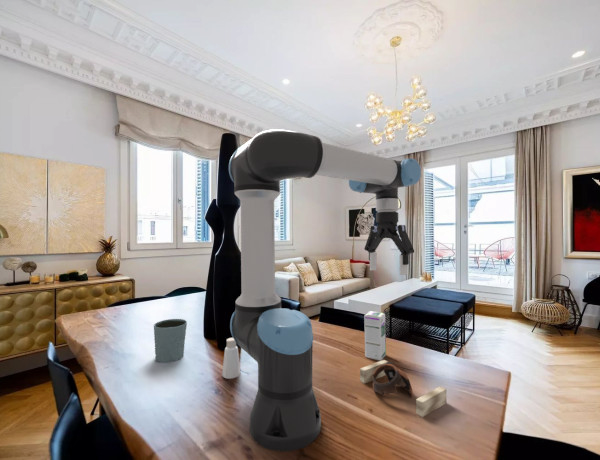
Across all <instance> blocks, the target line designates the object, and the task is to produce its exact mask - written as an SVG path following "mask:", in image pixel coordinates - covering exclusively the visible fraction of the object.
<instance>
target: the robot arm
mask: <svg viewBox="0 0 600 460" xmlns="http://www.w3.org/2000/svg"><path fill="white" fill-rule="evenodd" d="M421 172H422V168H421V165H420V163H419V161H418V160H417V159H415V158H404V159H402V160H396V159H391V158H386V157H382V156H378V155H374V154H370V153H366V152H362V151H358V150H354V149H351V148H350V149H349V148H345V147H342V146H337V145H335V144H334V145H333V144H328V143H325V142H323V141H322V139H321V138H320V137H319V136H316V135H312V134H308V133H305V132H304V133H303V132H298V131H293V130H287V129H286V130H285V129H268V130H265V131H261V132H259V133H257V134H256V135H255V136H254V137H253V138H251V139H250V140H248V141H247V142H245V143H244V144H242V145H240V146H239V147H238V148H237V149H236V150H235V151H234V152H233V153H232V156H231V157H230V159H229V163H228V173H229V177H230V179H231V181H232V182H233V183H234V187H233V188H234V189H233V191H234V195H235V196H236V197H237V198H238V199H239V201H240V257H241V258H240V261H241V262H240V263H241V265H240V272H241V277H240V278H241V280H240V281H241V285H240V286H241V288H240V289H241V294H240V296H238V297H237V298H236V300H235V310H234V312H233V313H232V315H231V318H230V322H229V329H230V334H231V336H232V338H234V340H235V342H236V345H237V347H238V348H241V349H242V350H244V352H246V353H247V354H248V355H249V356H250V357H251V358H252V359H253V360H254V361H255V362H256V363H257V384H258V385H257V393H256V394H255V398H254V401H253V406H252V409H251V412H250V415H249V434H250V436H251V438H252V440H254V442H255V443H257V445H259V446H261V447H262V448H263V449H264V448H265V449H268V450H270V451H275V452H292V451H297V450H300V449H304V448H305V447H308V446H309V445H311V444H312V443H313V442H314V441H316V440H317V438H318V436H319V435H320V432H321V428H322V420H321V419H322V418H321V417H322V415H321V411H320V408H319V405H318V401H317V399H316V394H315V391H314V388H313V351H314V350H313V349H314V348H313V346H314V345H313V344H314V334H313V325H312V321H311V320H310V318H309V317H308V316H307V315H306V314H305V313H303V312H301V311H299V310H296V309H290V308H282V297H280V296H279V295H278V294H277V292H276V268H275V267H276V264H275V263H276V262H275V261H276V260H275V259H276V257H275V255H276V254H275V253H276V251H275V249H276V248H275V246H276V245H275V244H276V243H275V238H276V237H275V234H276V233H275V201H276V199H277V198H278V197H279V196H280V195H281V181H284V180H287V179H292V178H305V179H312V178H314V177H316V176H322V177H328V178H329V177H330V178H333V179H341V180H346V181H348V186H349V188H350V190H352V191H353V192H357V193H360V194H362V193H363V194H374V195H375V211H376V213H375V223H377V225H371V226H370V228H369V231H370V232H369V234H368V237H367V240H366V243H365V246H364V248H363V249H364V251H367V253H368V261H369V271H377V267H378V266H377V265H378V264H377V252H376V250H377V249H378V247H379V245H380V244H381V243H382V240H384V239H390V240H392V241H393V243H394V245H395V246H396V248H397V249H398V250H399V252H400V254H399V276H404V275H406V276H407V275H408V265H409V263H410V257H409V255H410V254H414V253H415V249H414V247H413V245H412V241H411V240H410V238H409V235H408V233H407V229H406V227H407V226H406V225H405V224H398V223H399V213H398V210H399V189H400V188H406V187H410V186H413V185H416V184H417V183H419V181H420V179H421V177H422V173H421Z"/></svg>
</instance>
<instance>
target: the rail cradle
mask: <svg viewBox="0 0 600 460" xmlns="http://www.w3.org/2000/svg"><path fill="white" fill-rule="evenodd" d="M387 362H389V361H388V360H385V359H382V360H381V361H380V360H378V361H377V362H373V363H371V364H369V365H366V366H363V367H360V369H359V378H360V379H359V381H360V383H362V384H366V383H369V382H373V381H372V380H373V378H374V377H373V372H374V371H375V370H376V369H377V368H378V367H379V366H381V365H383V364H386V363H387ZM384 376H386V374H385V372H384V370H383V371H382V372H380V373H379V374H378V376H377V377H376V380H377V379H380V378H382V377H384ZM415 404H416V405H415V406H416V407H415V409H416V410H415V413H416V415H418V416H419V417H421V418H424V417H425V416H427V415H429V414H430V413H432V412H434V411H436V410H437V409H440V408H441V407H442V406H445V405H446V404H447V388H445V387H443V386H442V385H439V386H438V387H437V388H434V389H432V390H430V391H429V392H427V393H425V394H424V395H421V396H420V397H418V398H416V399H415Z"/></svg>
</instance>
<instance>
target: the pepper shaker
mask: <svg viewBox="0 0 600 460" xmlns="http://www.w3.org/2000/svg"><path fill="white" fill-rule="evenodd" d="M221 375H222V376H221V377H223V378H225V379H235V378H238V377H240V375H241V364H240V355H239V346H238V345H237V343H236V342H235V340H234V338H233V337H229V338H226V347H225V348H224V354H223V363H222V372H221Z"/></svg>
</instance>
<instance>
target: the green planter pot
mask: <svg viewBox="0 0 600 460" xmlns="http://www.w3.org/2000/svg"><path fill="white" fill-rule="evenodd" d="M187 323H188V321H187V320H186V319H182V318H170V319H163V320H160V321H157V322H155V323H154V324H153V337H154V354H155V355H154V358H155V362H157V363H163V364H164V363H167V364H168V363H172V362H176V361H178V360H180V359H182V358H184V354H185V352H184V351H185V341H186V333H187Z"/></svg>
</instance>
